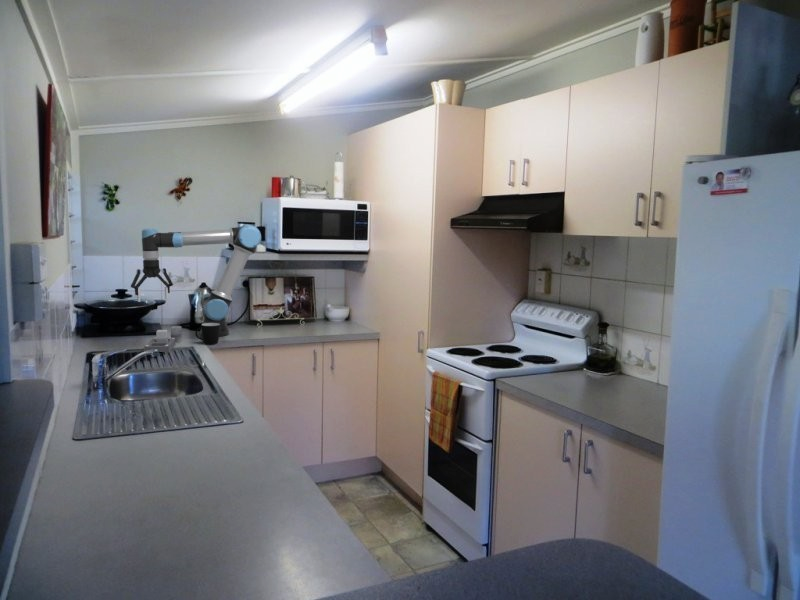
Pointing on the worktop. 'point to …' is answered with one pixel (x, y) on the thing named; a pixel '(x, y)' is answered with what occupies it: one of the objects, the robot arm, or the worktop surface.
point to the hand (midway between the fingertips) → (153, 300)
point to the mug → (209, 333)
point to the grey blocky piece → (161, 342)
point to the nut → (176, 333)
